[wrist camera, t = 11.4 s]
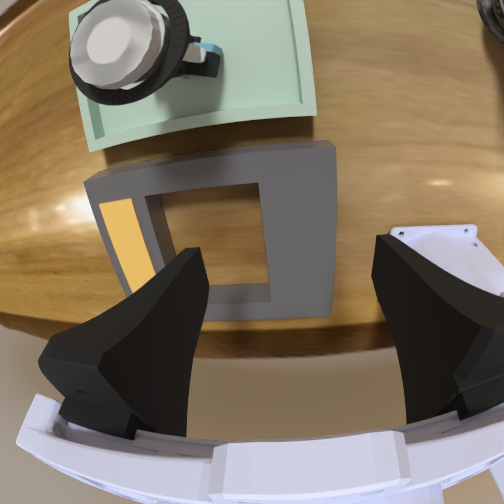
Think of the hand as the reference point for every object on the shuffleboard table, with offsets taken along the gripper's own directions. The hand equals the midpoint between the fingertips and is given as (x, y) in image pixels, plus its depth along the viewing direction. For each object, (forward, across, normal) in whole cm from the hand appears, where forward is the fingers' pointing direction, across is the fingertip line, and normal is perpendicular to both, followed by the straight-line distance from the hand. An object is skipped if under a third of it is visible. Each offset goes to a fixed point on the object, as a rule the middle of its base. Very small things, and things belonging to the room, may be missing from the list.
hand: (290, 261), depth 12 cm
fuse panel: (+10, +6, +4) cm, 13 cm away
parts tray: (+11, +6, -11) cm, 16 cm away
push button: (+10, +6, -10) cm, 15 cm away
